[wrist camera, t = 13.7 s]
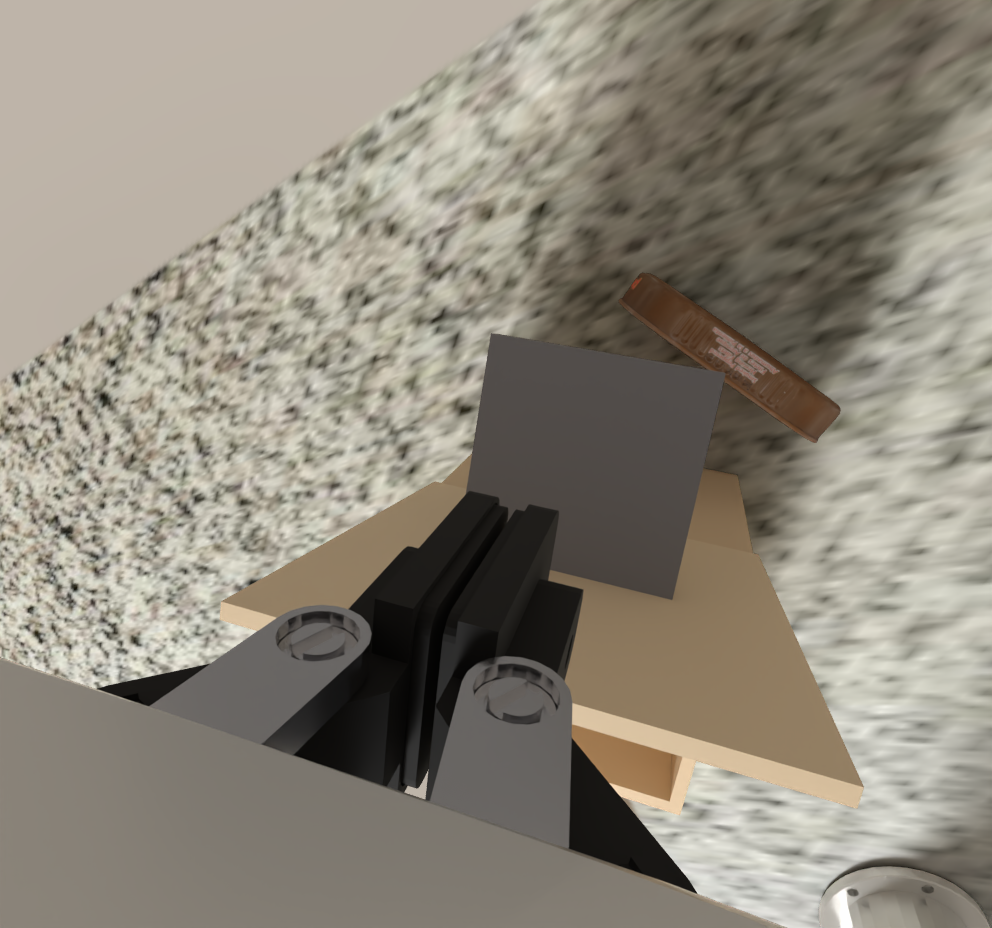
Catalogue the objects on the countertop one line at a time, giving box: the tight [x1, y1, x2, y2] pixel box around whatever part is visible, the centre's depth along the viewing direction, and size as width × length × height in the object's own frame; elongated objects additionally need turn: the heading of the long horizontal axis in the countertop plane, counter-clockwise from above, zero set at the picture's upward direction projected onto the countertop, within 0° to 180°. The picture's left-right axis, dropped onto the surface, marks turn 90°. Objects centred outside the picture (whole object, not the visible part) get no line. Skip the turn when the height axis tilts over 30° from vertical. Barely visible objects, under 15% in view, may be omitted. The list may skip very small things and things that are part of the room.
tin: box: [619, 273, 840, 443], centre depth 41 cm, size 15×3×8 cm, turn 57°
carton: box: [442, 454, 753, 815], centre depth 46 cm, size 18×18×14 cm
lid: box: [220, 333, 864, 808], centre depth 26 cm, size 19×18×10 cm
